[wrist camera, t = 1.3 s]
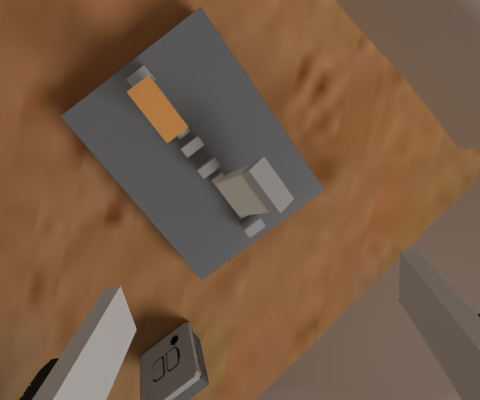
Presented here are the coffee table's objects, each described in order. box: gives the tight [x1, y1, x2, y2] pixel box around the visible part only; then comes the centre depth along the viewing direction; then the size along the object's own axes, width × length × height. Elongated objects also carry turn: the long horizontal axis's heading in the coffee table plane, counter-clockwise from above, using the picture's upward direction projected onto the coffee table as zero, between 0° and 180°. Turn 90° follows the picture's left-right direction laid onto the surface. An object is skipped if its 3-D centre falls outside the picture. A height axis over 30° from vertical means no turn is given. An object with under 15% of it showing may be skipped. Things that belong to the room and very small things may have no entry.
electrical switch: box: [140, 322, 209, 400], centre depth 45 cm, size 9×5×9 cm, turn 128°
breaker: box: [211, 157, 294, 219], centre depth 36 cm, size 2×6×10 cm
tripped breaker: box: [127, 75, 191, 143], centre depth 33 cm, size 2×6×10 cm, turn 36°
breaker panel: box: [61, 7, 324, 280], centre depth 40 cm, size 20×26×7 cm
